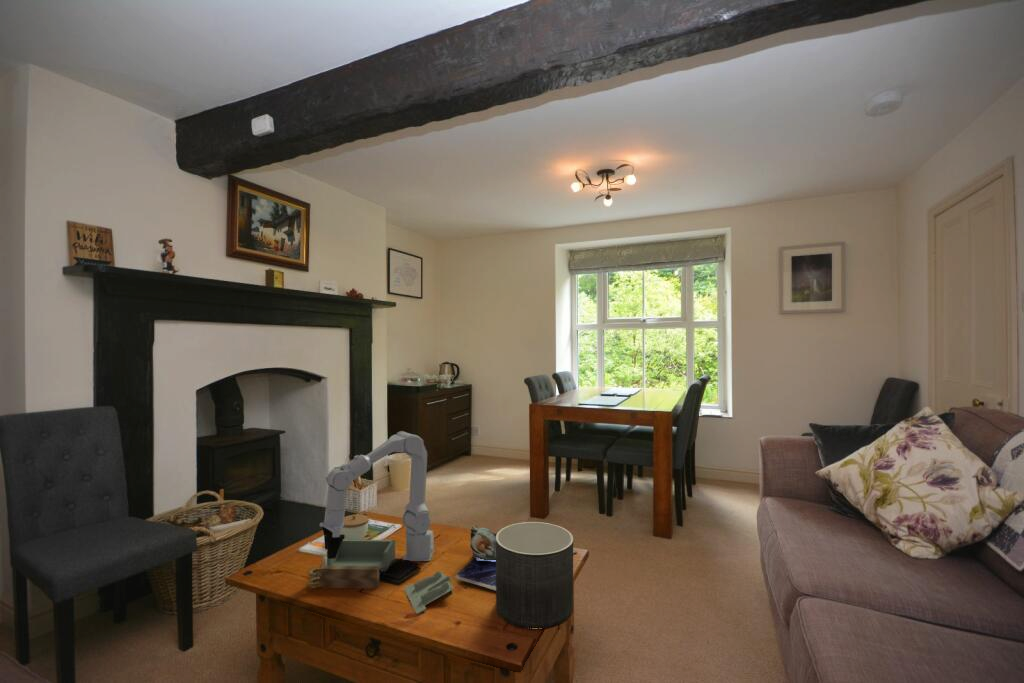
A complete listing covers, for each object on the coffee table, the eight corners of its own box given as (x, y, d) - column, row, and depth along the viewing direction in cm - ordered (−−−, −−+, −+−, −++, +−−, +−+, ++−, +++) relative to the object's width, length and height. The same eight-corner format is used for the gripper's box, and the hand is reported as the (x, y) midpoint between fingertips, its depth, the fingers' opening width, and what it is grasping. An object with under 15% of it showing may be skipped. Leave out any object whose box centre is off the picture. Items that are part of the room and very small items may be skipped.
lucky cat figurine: (517, 561, 160) (508, 533, 154) (487, 582, 156) (476, 554, 150) (497, 534, 173) (488, 507, 167) (469, 552, 168) (458, 525, 162)
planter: (551, 641, 118) (551, 562, 118) (480, 614, 130) (480, 542, 130) (585, 600, 137) (585, 531, 137) (521, 579, 148) (521, 516, 148)
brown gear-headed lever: (380, 583, 146) (380, 564, 146) (376, 591, 142) (376, 571, 142) (312, 582, 147) (312, 563, 147) (306, 590, 143) (306, 570, 143)
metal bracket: (441, 562, 148) (457, 584, 135) (446, 578, 149) (462, 602, 136) (397, 585, 142) (410, 611, 129) (403, 602, 143) (416, 629, 130)
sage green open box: (395, 558, 163) (395, 540, 163) (383, 577, 150) (383, 557, 150) (338, 557, 163) (338, 539, 163) (322, 576, 150) (322, 556, 150)
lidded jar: (333, 544, 174) (333, 519, 174) (348, 533, 184) (348, 509, 184) (360, 546, 172) (360, 521, 172) (373, 534, 183) (373, 511, 183)
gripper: (319, 502, 150) (314, 546, 149) (324, 516, 137) (318, 563, 136) (342, 501, 153) (337, 544, 152) (349, 515, 140) (343, 561, 139)
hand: (330, 553), depth 144 cm, fingers open, 7 cm apart
